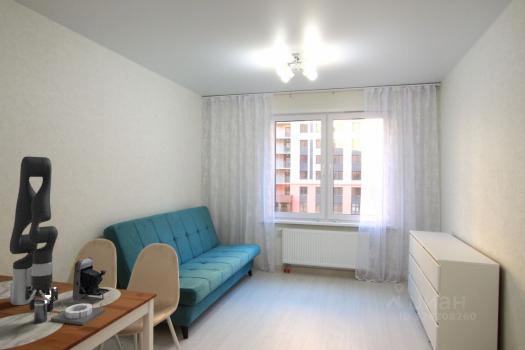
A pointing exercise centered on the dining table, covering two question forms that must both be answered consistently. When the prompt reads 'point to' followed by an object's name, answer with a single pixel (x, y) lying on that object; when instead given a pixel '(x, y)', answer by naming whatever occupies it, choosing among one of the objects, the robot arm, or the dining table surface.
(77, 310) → the mount
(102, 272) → the vintage camera
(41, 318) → the lens
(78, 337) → the dining table surface
